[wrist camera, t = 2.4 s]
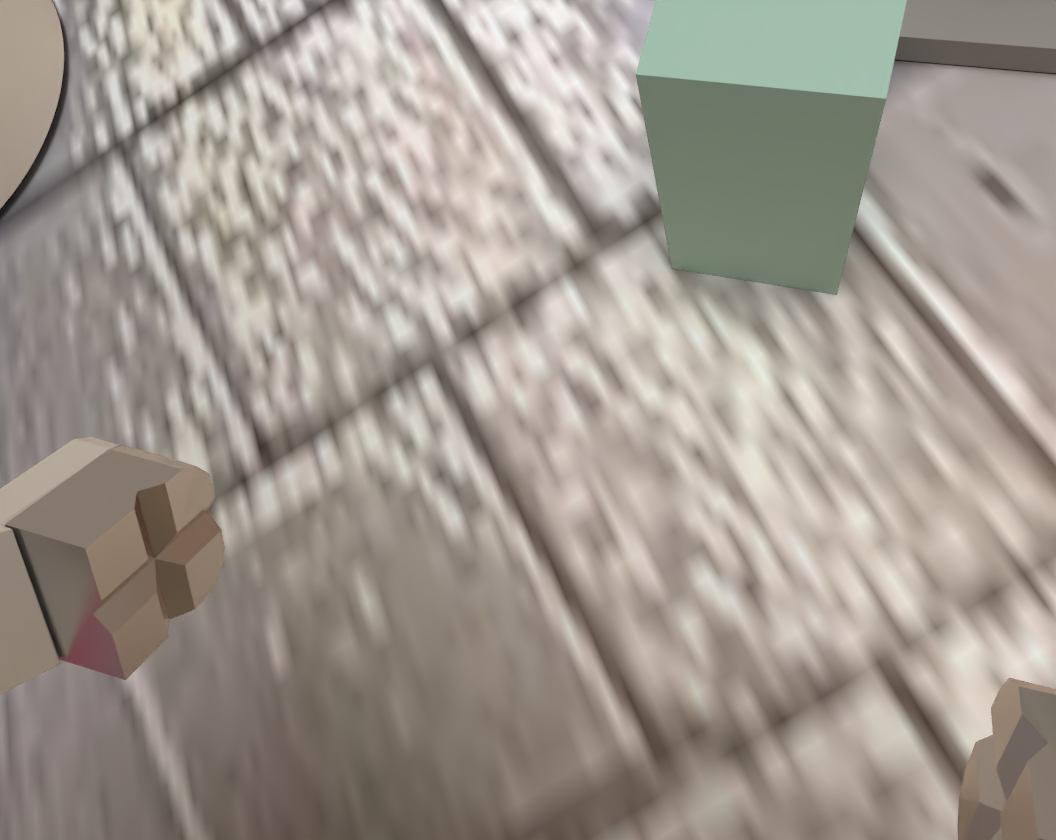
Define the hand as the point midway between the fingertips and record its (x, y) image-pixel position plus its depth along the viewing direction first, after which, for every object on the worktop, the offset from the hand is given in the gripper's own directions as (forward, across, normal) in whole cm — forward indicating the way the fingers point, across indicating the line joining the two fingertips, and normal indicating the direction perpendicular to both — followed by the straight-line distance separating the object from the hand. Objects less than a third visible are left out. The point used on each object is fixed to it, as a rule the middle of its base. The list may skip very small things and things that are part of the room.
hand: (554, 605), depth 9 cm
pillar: (+19, 0, +2) cm, 19 cm away
